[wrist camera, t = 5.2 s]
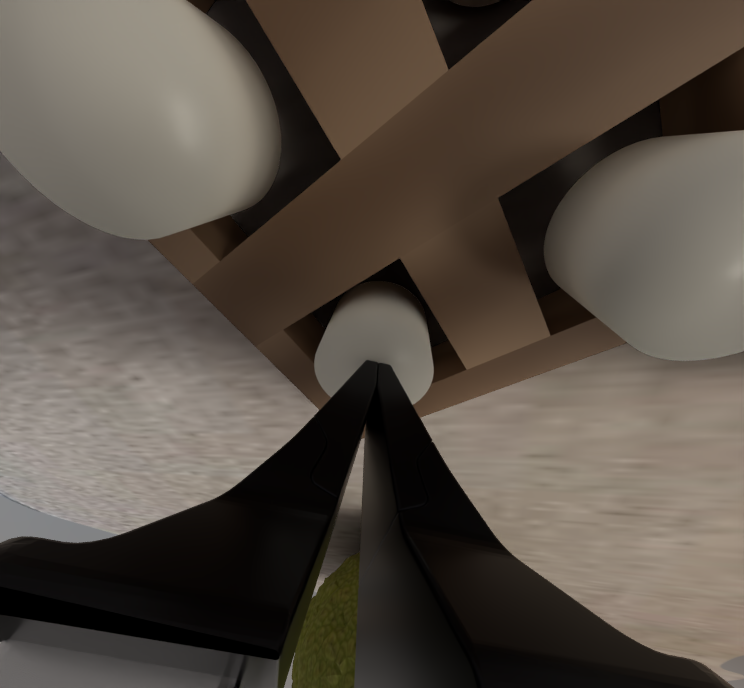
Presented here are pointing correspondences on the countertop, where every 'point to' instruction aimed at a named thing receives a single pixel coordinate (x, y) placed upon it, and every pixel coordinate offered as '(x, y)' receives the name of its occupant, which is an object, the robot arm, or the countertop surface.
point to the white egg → (474, 2)
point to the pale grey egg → (659, 245)
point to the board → (453, 170)
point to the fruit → (330, 632)
